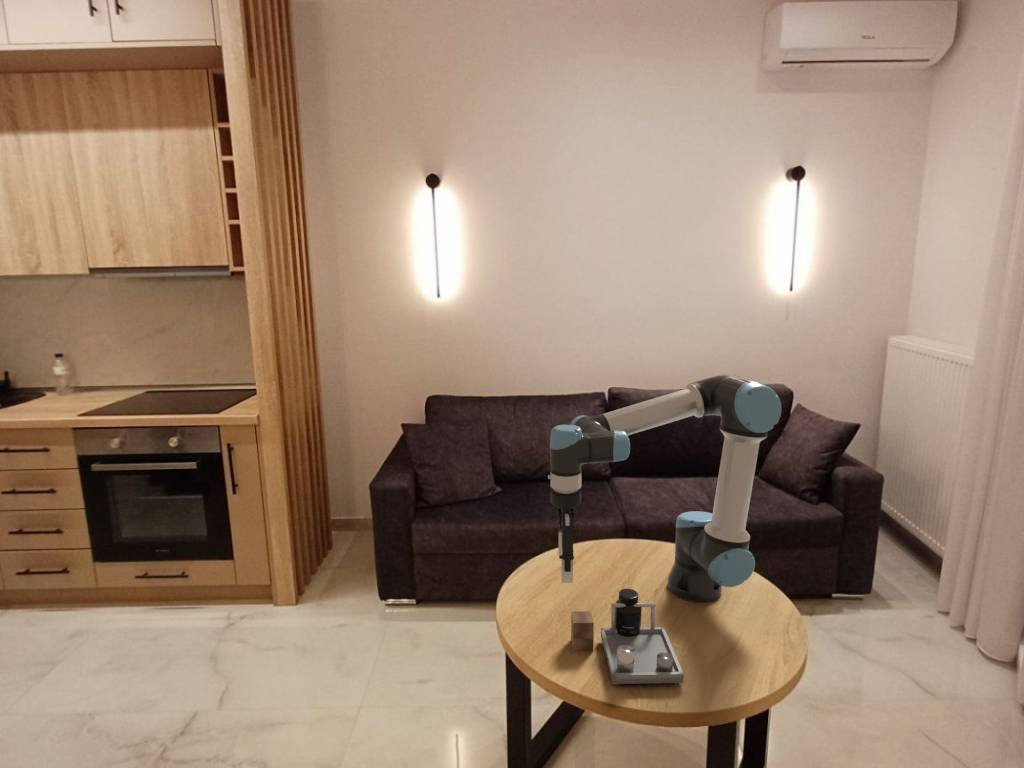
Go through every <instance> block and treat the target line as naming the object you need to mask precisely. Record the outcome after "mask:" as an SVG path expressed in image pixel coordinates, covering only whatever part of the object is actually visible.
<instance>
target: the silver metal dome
mask: <svg viewBox="0 0 1024 768" xmlns="http://www.w3.org/2000/svg"><path fill="white" fill-rule="evenodd" d="M656 668H657V671H658V672H672V671H673V657H672V656H671V655H670V654H668V653H659V654H658V655H657V667H656Z"/></svg>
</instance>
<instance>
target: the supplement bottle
mask: <svg viewBox="0 0 1024 768" xmlns="http://www.w3.org/2000/svg"><path fill="white" fill-rule="evenodd" d="M615 603H623V604H625V605H626V606H625V607H615V628H616V629H617V634H619V635H621V636H625V637H633V636H636V635H638V634H639V633H640V628H642V611H643V609H642V608H643V607H635V606H634V605H635V604H636V603H640V602H639V592H638V591H636V590H634V589H633V588H622V589H620V590H619V591H618V599H617V600H616V601H615Z"/></svg>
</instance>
